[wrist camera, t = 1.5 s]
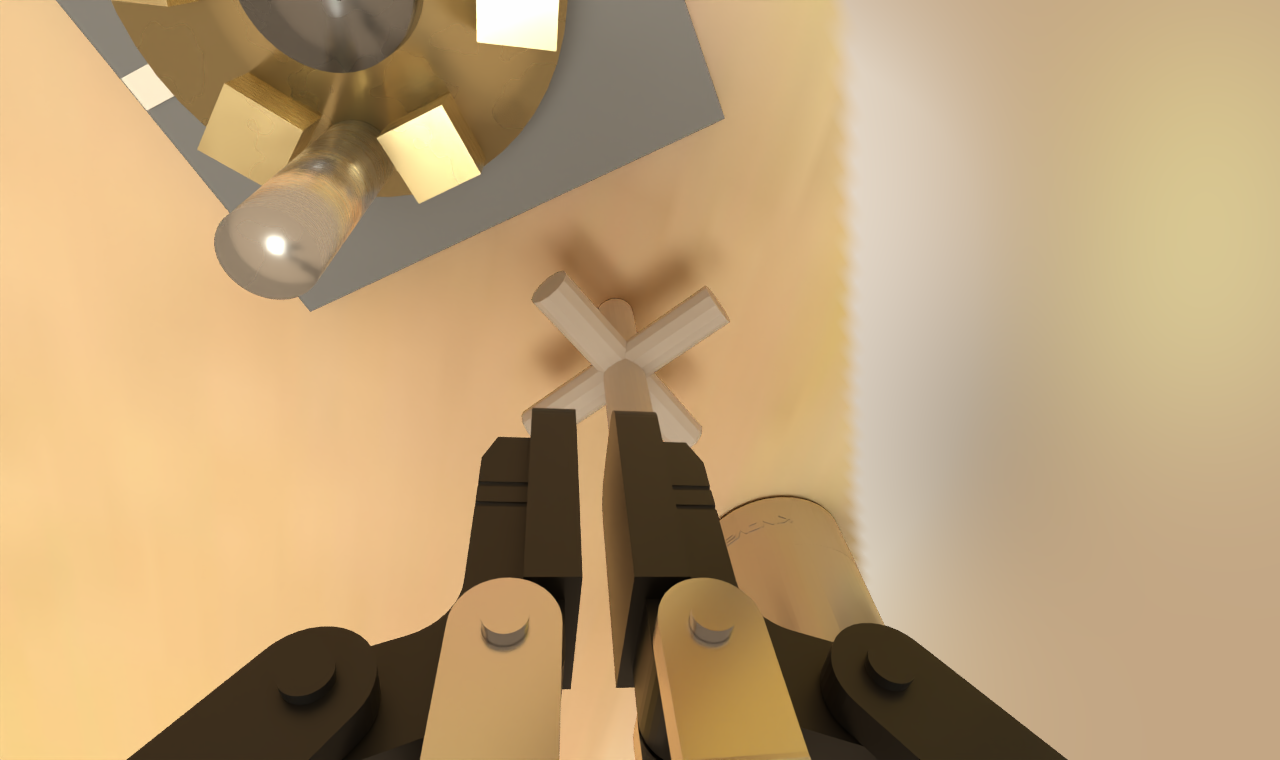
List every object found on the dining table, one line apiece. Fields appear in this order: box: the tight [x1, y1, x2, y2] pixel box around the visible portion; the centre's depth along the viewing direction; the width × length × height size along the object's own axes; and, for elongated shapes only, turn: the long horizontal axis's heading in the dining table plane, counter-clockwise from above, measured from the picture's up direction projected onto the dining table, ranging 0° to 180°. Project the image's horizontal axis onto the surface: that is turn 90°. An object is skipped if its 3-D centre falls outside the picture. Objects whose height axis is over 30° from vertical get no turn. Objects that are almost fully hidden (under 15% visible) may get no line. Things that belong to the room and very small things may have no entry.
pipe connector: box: [522, 271, 730, 448], centre depth 30 cm, size 10×10×10 cm
